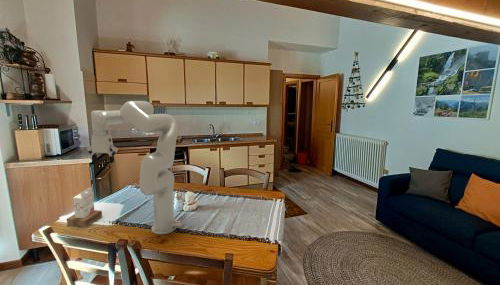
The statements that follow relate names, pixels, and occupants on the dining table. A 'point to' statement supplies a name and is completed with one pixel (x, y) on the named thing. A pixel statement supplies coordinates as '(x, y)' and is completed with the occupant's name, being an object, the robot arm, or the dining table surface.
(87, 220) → the walnut block
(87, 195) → the ink cartridge box
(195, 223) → the dining table surface
